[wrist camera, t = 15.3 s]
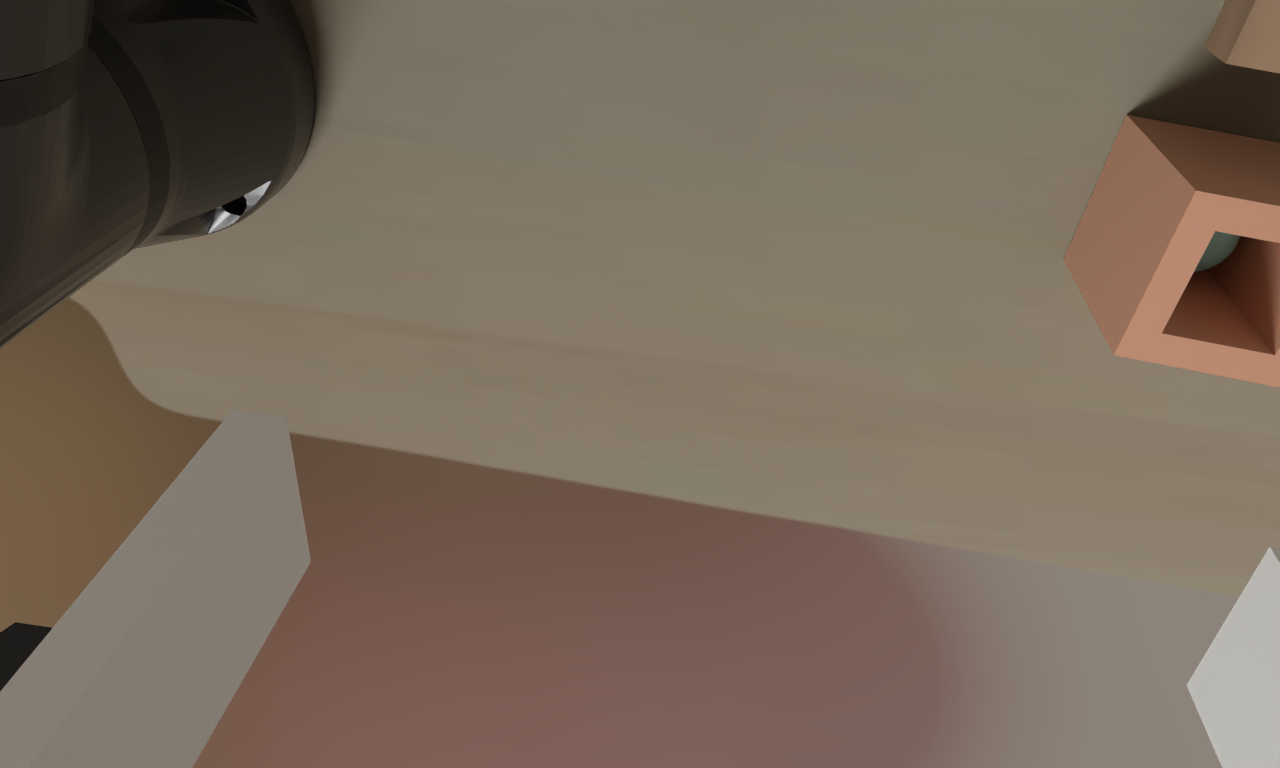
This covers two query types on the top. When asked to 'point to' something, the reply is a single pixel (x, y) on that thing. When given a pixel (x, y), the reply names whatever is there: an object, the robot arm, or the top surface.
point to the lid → (1248, 34)
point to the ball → (1217, 250)
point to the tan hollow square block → (1185, 250)
